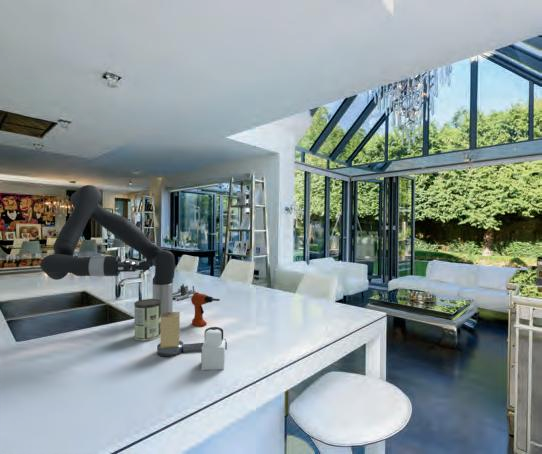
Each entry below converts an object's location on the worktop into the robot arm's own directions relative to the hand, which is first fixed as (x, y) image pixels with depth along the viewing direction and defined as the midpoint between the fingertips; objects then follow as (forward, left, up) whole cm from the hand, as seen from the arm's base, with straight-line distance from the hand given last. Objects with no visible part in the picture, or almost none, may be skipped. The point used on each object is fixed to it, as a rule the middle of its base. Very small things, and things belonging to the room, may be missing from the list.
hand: (151, 265), depth 119 cm
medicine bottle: (+32, -5, -30) cm, 45 cm away
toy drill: (+7, +25, -30) cm, 40 cm away
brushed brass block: (+12, -3, -28) cm, 30 cm away
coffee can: (-7, +5, -30) cm, 31 cm away
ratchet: (+19, +2, -30) cm, 35 cm away
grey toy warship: (-39, +61, -31) cm, 79 cm away
